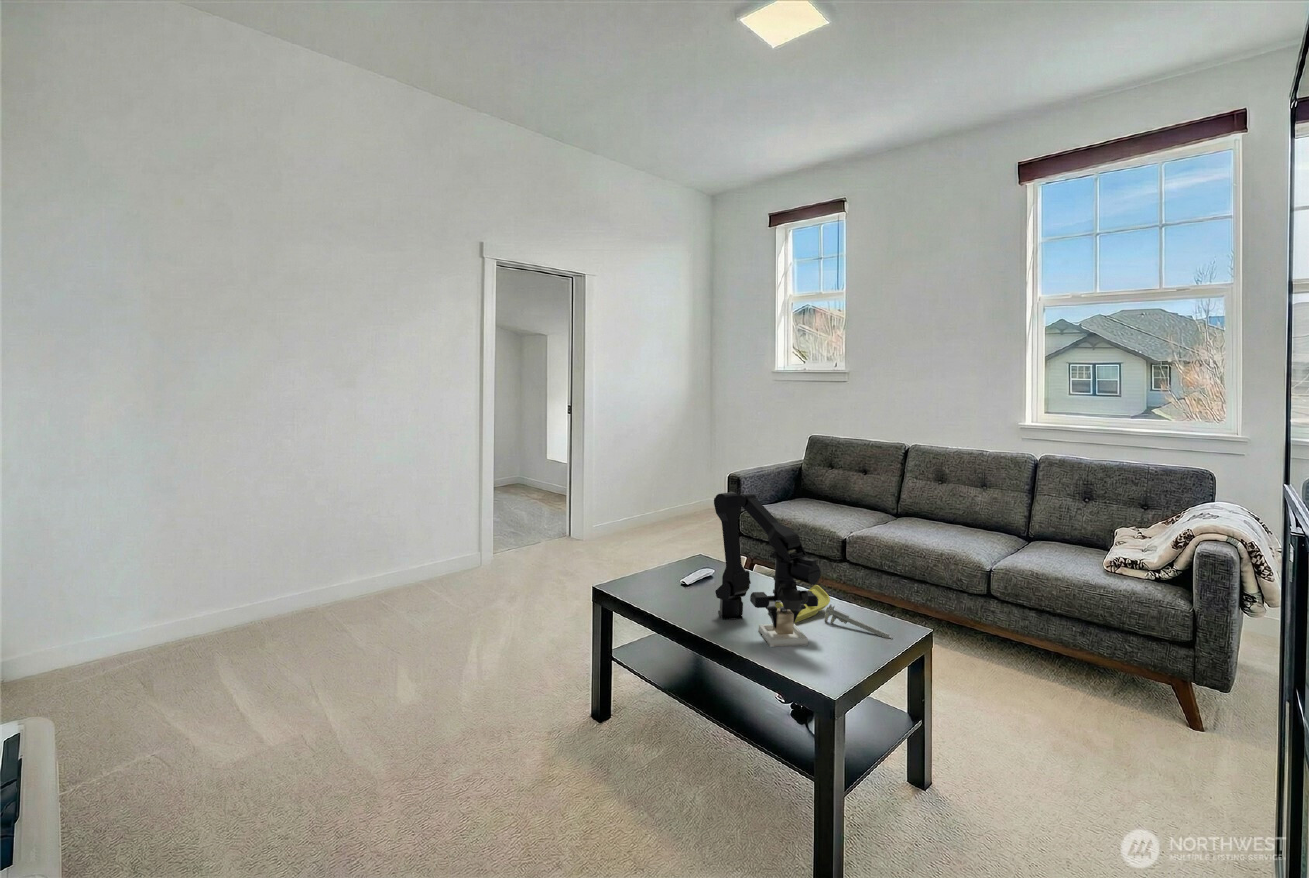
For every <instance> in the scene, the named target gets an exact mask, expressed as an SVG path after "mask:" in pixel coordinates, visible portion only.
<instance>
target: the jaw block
mask: <svg viewBox="0 0 1309 878" xmlns="http://www.w3.org/2000/svg"><path fill="white" fill-rule="evenodd" d="M776 619H777V624H776V628H774V626H773V629H774V630H775V632H776V633H777V634H778V635H784V634H793V621H794V614H793V613H792V612H791V611H790V610H787V609H785V608H784V607H780V609H777V611H776Z"/></svg>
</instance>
